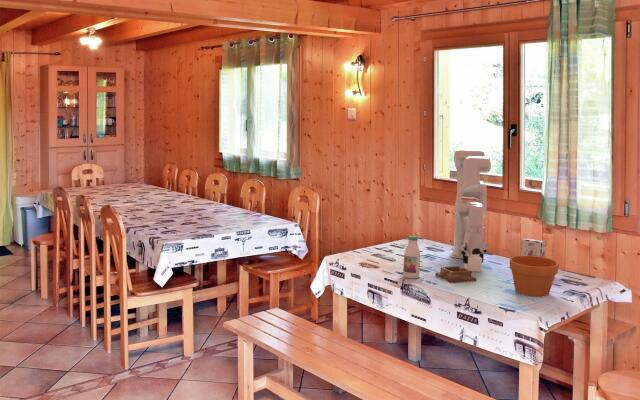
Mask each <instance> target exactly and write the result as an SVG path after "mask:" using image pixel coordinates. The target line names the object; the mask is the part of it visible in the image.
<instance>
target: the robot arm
mask: <svg viewBox="0 0 640 400" xmlns="http://www.w3.org/2000/svg"><path fill="white" fill-rule="evenodd" d="M453 161H454V165H455V169H456V173H457V178H456V184H457V185H456V192H457V193H456V197H455V203H454V206H453V212H454V229H453V230H454V231H453V232H454V233H453V246H452V247H451V248H450V250H452V252H450V253H449V256H450V257H452V258H453V259H460V260H462V263H463V264H464V263H465V264H467V263H468V256H467V255H468V253H469V252H472V251H473V249H476V248H479V249H480V255H479V256H480V257H481V258H482V264H483V263H484V257H485V255H486V252H487V250H488V249H489V245H487V244H486V243H485V233H484V231H483V230H485V227H484V218H485V217H486V215H487V208H488V207H487V200H488V198H487V192H488V189H487V185H486V183H485V182H483V181H481V175H480V174H483V173H484V174H485V173H486V174H487V173H489V172H490V171H491V169H492V168H491V167H492V163H491V159H490V156H489V154H488V152H487V150H485V149H483V148H482V149H479V148H476V149H475V148H458V149H456V151H455V152H454V154H453ZM462 198H463V199H462ZM464 199H465V200H464ZM466 199H476V200H466Z"/></svg>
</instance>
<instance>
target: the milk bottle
mask: <svg viewBox="0 0 640 400" xmlns="http://www.w3.org/2000/svg"><path fill="white" fill-rule="evenodd" d="M407 239H408V240H407V241H408V242H407V245H406V248H405V250H404V254H403V267H402V268H403V269H402V270H403V271H402V274H403V278H407V279H419V278H420V267H421V251H420V248H419V245H418V241H419V237H418V235H409V236H408V238H407Z"/></svg>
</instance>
